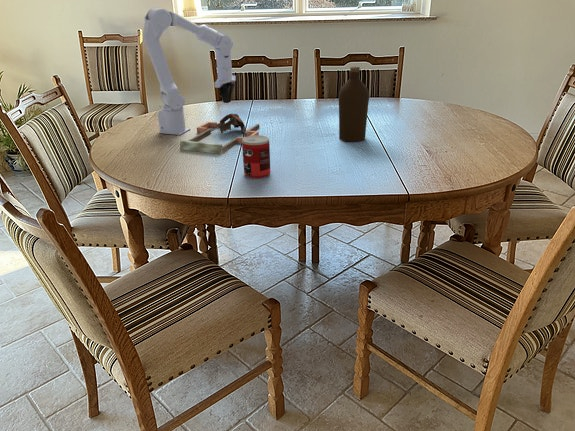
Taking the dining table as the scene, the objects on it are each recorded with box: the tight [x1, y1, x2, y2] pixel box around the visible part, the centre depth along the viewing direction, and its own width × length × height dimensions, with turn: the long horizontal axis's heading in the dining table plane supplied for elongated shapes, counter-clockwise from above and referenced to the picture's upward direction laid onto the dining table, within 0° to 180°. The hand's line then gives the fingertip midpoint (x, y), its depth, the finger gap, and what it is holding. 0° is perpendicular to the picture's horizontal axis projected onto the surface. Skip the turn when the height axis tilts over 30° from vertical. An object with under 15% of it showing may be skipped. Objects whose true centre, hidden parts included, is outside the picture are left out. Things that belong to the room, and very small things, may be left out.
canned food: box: [241, 134, 271, 179], centre depth 143 cm, size 8×8×11 cm
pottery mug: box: [217, 113, 247, 134], centre depth 185 cm, size 12×10×8 cm
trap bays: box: [196, 121, 260, 144], centre depth 182 cm, size 25×16×2 cm, turn 70°
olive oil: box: [338, 66, 370, 143], centre depth 170 cm, size 11×11×25 cm
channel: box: [178, 121, 260, 155], centre depth 178 cm, size 16×32×3 cm, turn 160°
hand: (227, 102), depth 194 cm, fingers closed
